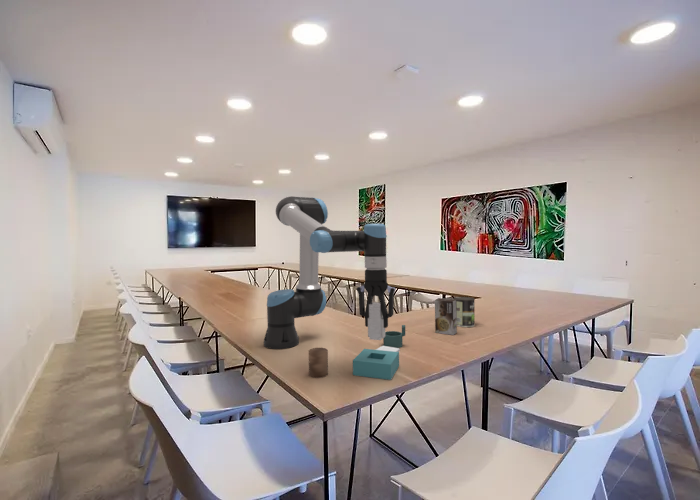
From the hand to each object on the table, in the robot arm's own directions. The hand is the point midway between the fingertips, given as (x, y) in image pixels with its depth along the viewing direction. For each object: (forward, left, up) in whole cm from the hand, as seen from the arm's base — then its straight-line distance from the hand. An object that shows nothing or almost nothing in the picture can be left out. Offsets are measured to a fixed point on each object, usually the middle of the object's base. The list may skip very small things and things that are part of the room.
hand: (376, 336), depth 119 cm
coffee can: (+27, +75, -12) cm, 81 cm away
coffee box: (+19, +57, -12) cm, 61 cm away
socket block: (0, 0, -12) cm, 12 cm away
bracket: (-1, +30, -12) cm, 32 cm away
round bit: (-18, -9, -12) cm, 24 cm away
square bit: (0, 0, -1) cm, 1 cm away
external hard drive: (-2, +18, -13) cm, 22 cm away
